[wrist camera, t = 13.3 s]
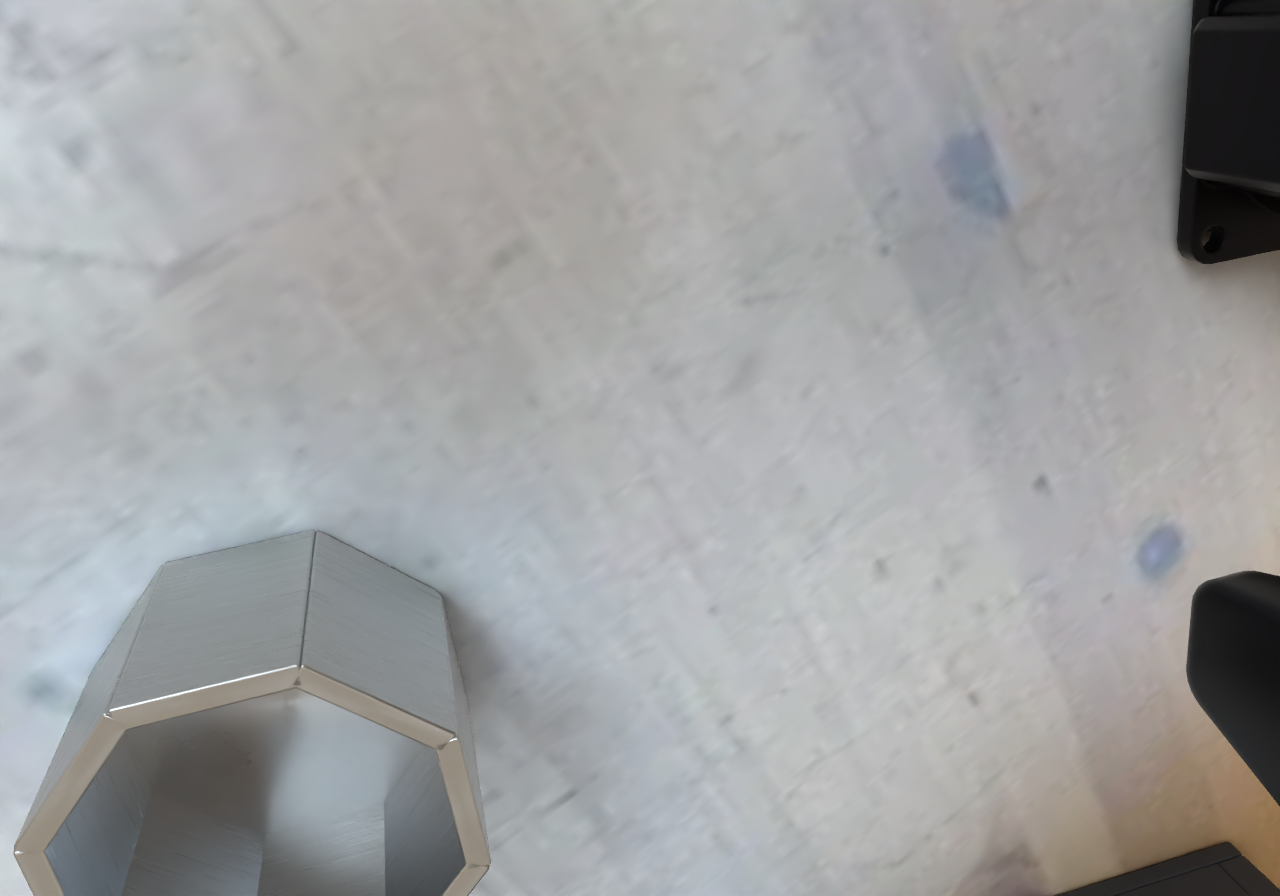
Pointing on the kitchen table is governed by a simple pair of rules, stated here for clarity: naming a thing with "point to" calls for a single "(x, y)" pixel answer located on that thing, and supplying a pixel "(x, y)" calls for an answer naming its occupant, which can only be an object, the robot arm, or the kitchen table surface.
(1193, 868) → the dark grey tray
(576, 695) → the kitchen table surface
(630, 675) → the kitchen table surface
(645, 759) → the kitchen table surface
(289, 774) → the octagonal metal cup
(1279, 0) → the robot arm
